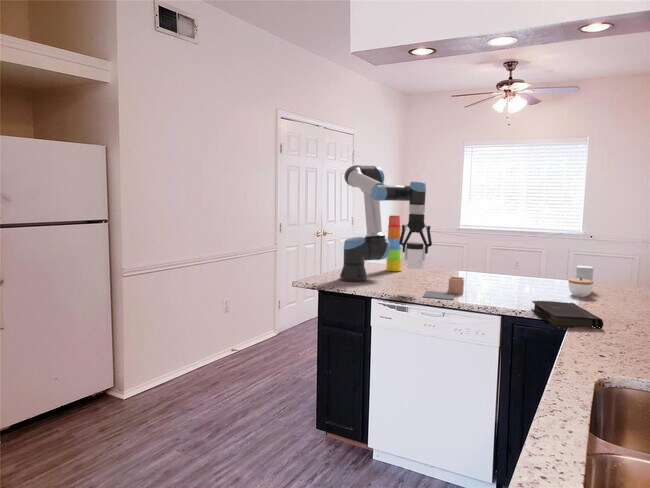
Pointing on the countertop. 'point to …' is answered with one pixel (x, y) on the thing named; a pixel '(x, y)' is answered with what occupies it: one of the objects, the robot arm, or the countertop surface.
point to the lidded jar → (580, 286)
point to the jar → (414, 255)
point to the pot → (456, 285)
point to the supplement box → (584, 272)
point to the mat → (439, 295)
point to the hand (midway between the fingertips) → (414, 259)
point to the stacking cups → (394, 244)
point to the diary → (565, 315)
